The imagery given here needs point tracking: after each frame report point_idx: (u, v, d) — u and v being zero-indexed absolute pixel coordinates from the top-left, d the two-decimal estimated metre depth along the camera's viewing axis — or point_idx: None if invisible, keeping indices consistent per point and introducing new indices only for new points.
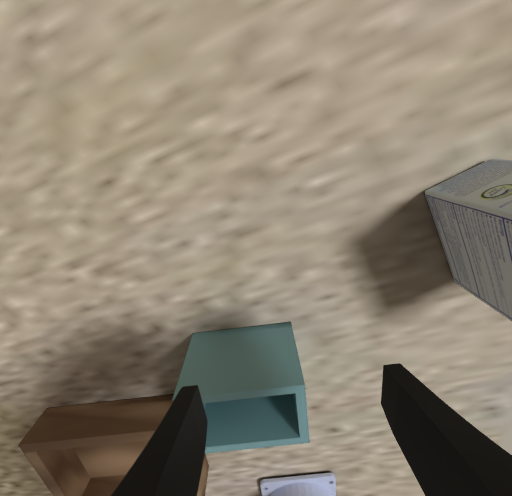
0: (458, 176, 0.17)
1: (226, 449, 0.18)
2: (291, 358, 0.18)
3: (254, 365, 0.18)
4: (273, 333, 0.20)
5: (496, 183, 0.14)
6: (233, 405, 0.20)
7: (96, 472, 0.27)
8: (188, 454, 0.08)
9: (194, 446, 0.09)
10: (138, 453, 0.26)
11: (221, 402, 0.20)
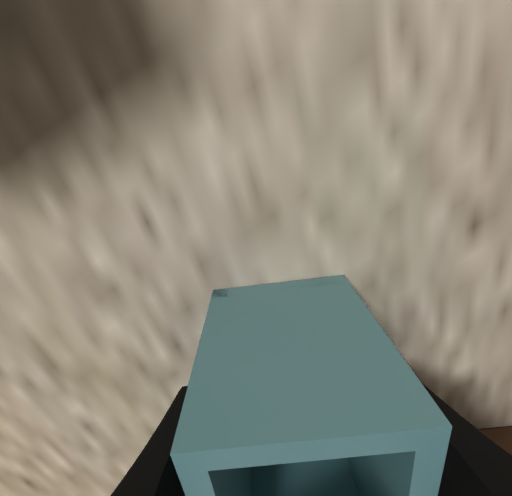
0: None
1: None
2: None
3: None
4: None
5: None
6: None
7: None
8: None
9: None
10: None
11: None
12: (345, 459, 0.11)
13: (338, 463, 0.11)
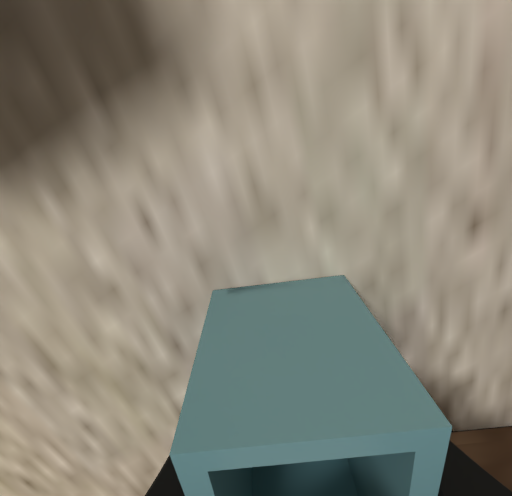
0: None
1: None
2: None
3: None
4: None
5: None
6: None
7: None
8: None
9: None
10: None
11: None
12: (345, 459, 0.11)
13: (338, 463, 0.11)
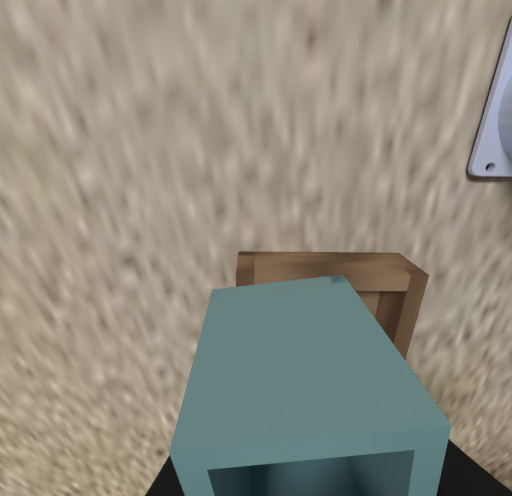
0: None
1: None
2: None
3: None
4: None
5: None
6: None
7: None
8: None
9: None
10: None
11: None
12: (344, 459, 0.11)
13: (337, 462, 0.11)
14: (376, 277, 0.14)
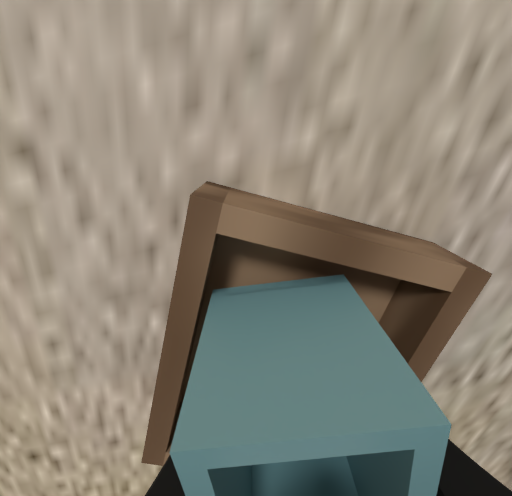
0: None
1: None
2: None
3: None
4: None
5: None
6: None
7: None
8: None
9: None
10: None
11: None
12: (345, 458, 0.11)
13: (338, 462, 0.11)
14: (415, 258, 0.09)
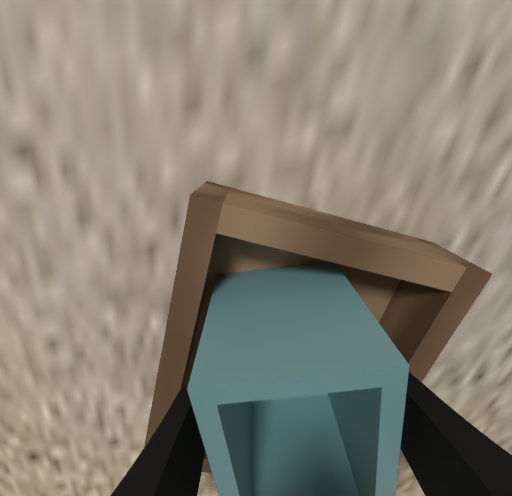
0: None
1: None
2: None
3: None
4: None
5: None
6: (344, 411, 0.11)
7: None
8: (188, 454, 0.08)
9: (194, 446, 0.09)
10: None
11: (341, 418, 0.11)
12: (336, 425, 0.12)
13: (329, 429, 0.12)
14: (415, 258, 0.09)
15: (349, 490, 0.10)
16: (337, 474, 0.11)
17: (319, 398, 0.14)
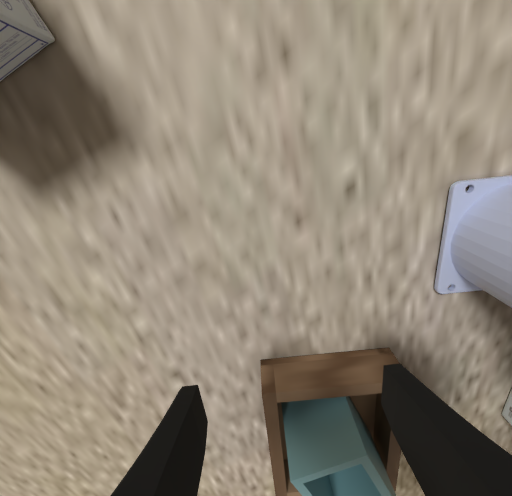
0: None
1: None
2: None
3: None
4: None
5: None
6: None
7: None
8: (188, 454, 0.08)
9: (194, 446, 0.09)
10: None
11: None
12: None
13: None
14: (369, 385, 0.19)
15: None
16: (375, 487, 0.20)
17: None
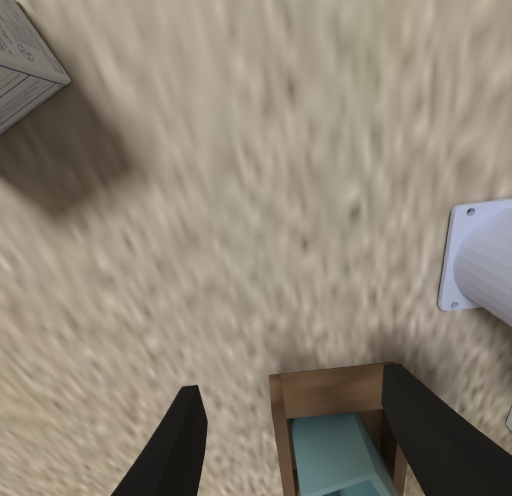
0: None
1: None
2: None
3: None
4: None
5: None
6: None
7: None
8: (188, 454, 0.08)
9: (194, 446, 0.09)
10: None
11: None
12: None
13: None
14: (376, 401, 0.19)
15: None
16: None
17: None
